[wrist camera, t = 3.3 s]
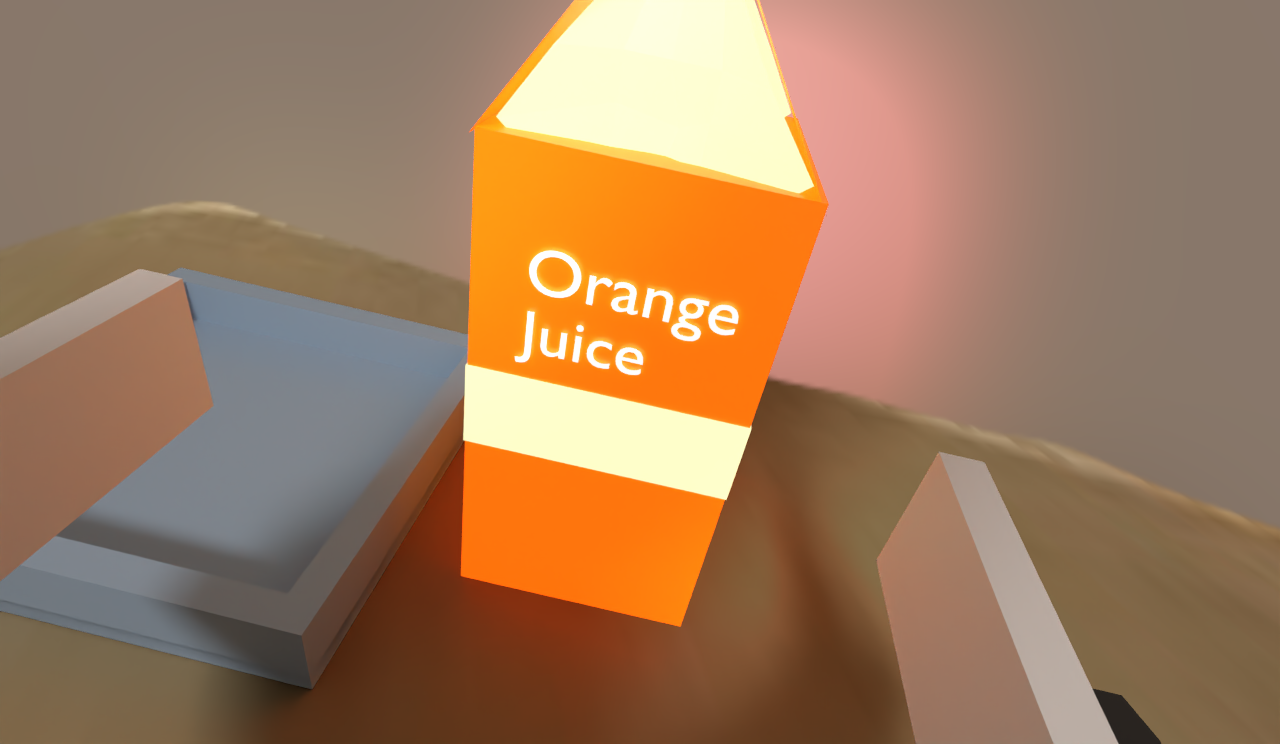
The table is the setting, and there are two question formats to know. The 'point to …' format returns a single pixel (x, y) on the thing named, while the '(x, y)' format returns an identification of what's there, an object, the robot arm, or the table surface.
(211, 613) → the dish
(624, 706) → the table surface
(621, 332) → the orange juice
